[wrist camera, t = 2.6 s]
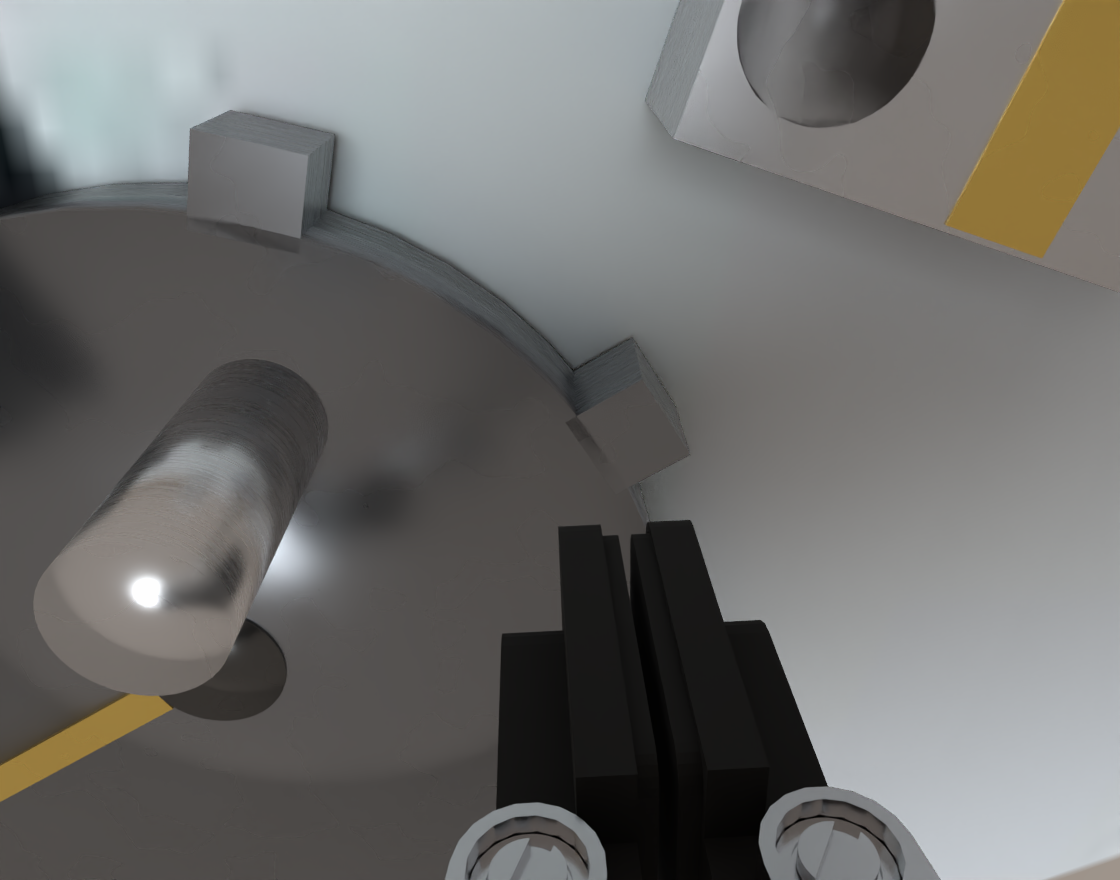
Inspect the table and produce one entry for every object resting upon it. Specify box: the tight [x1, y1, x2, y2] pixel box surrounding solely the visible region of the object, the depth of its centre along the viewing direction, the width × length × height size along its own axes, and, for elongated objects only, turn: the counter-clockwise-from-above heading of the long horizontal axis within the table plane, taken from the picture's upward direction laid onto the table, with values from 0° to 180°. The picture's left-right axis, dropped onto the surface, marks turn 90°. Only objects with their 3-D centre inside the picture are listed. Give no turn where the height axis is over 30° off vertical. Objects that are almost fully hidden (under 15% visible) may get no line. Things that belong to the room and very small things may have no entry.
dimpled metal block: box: [645, 0, 1120, 292], centre depth 14 cm, size 10×4×4 cm, turn 72°
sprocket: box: [0, 110, 690, 880], centre depth 17 cm, size 22×22×8 cm
